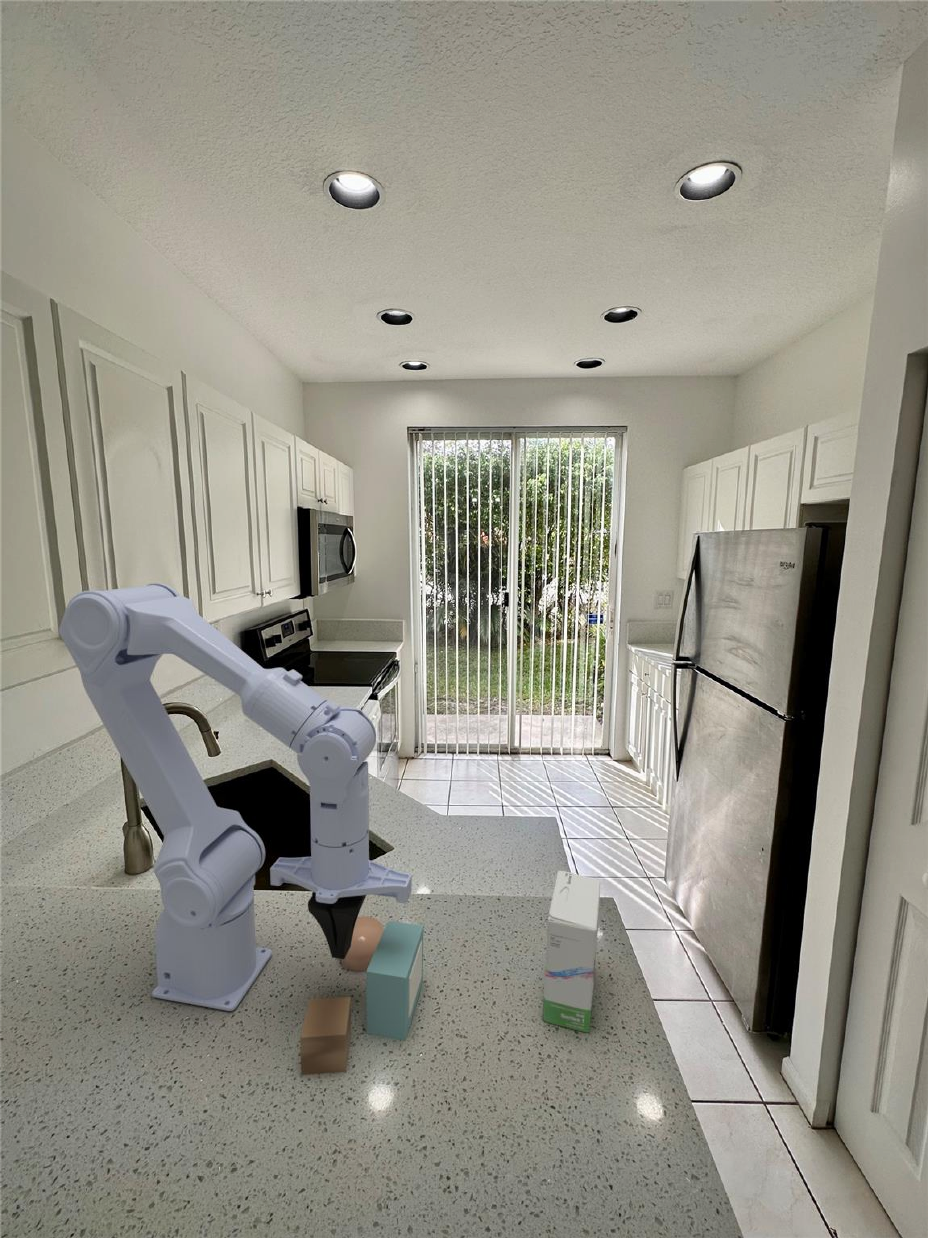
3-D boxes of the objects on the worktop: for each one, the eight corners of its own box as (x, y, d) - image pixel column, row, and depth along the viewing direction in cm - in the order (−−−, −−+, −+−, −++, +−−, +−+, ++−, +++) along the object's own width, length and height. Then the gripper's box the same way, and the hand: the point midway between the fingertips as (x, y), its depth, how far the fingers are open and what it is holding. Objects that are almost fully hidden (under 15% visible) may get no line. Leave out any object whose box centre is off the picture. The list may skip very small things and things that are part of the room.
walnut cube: (301, 1076, 48) (300, 1038, 47) (309, 1035, 52) (309, 999, 51) (346, 1072, 48) (345, 1034, 48) (350, 1032, 52) (350, 996, 52)
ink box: (590, 1036, 53) (598, 930, 51) (540, 1021, 54) (546, 918, 52) (594, 970, 61) (601, 876, 59) (551, 959, 62) (557, 867, 60)
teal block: (365, 1034, 52) (365, 971, 51) (387, 976, 59) (387, 920, 58) (406, 1041, 52) (407, 978, 50) (423, 982, 58) (424, 926, 57)
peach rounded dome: (333, 968, 60) (332, 944, 60) (348, 936, 65) (348, 914, 64) (375, 974, 59) (375, 950, 59) (388, 942, 64) (388, 919, 64)
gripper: (251, 845, 50) (256, 971, 53) (398, 864, 48) (397, 994, 50) (287, 808, 57) (290, 921, 59) (417, 823, 55) (415, 939, 57)
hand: (341, 951), depth 55 cm, fingers closed
